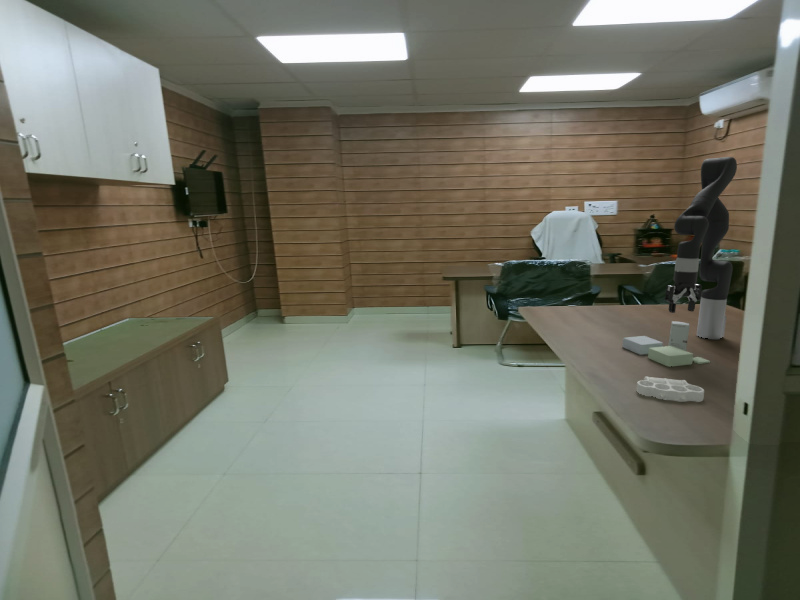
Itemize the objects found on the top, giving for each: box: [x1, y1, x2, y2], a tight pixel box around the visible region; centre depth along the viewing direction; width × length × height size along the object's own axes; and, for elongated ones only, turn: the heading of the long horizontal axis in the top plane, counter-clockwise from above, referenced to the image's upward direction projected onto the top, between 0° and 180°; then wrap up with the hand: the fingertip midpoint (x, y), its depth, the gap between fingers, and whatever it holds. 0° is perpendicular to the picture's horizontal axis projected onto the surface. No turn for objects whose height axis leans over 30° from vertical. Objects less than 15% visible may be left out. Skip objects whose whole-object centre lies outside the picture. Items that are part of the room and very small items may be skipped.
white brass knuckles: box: [635, 375, 705, 403], centre depth 143 cm, size 3×18×15 cm
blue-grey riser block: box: [622, 335, 664, 356], centre depth 184 cm, size 10×10×4 cm
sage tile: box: [692, 356, 711, 365], centre depth 170 cm, size 5×5×1 cm
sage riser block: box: [647, 345, 694, 368], centre depth 171 cm, size 10×10×4 cm
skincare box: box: [668, 320, 691, 351], centre depth 179 cm, size 6×4×12 cm
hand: (681, 311), depth 176 cm, fingers open, 8 cm apart
